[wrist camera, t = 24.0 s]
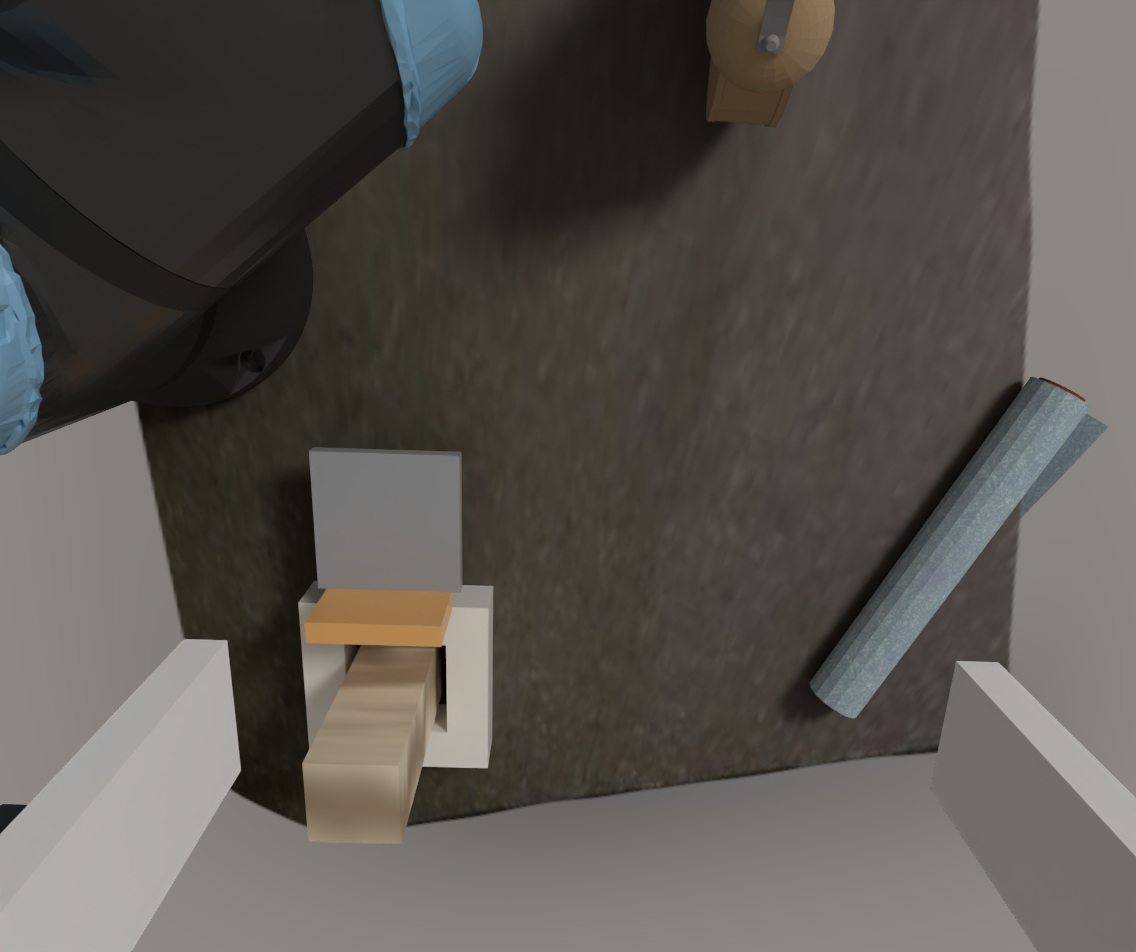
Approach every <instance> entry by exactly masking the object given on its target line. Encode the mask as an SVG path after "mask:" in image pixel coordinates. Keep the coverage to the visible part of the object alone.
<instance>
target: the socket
mask: <svg viewBox="0 0 1136 952" xmlns="http://www.w3.org/2000/svg"><path fill="white" fill-rule="evenodd" d="M325 591H326V589H324V588H318V581H314V582H313V583H312V584H311V586H310V587H309V589H308V590H307V591H306V593H305V594H304V596H303V597H302V598H301V600H300V601H299V602H298V606H299V619H300V632H301V646H302V659H303V672H304V686H305V699H306V712H307V726H308V739H309V749H310V747H311V745H312V743H313V741H314V739H315V737H316V735H317V733H318V731H319V729H320V727H321V725H322V723H323V721H324V719H325V717H326V715H327V713H328V711H329V709H330V707H331V705H332V703H333V701H334V699H335V697H336V695H337V693H338V691H339V689H340V687H341V685H342V683H343V681H344V679H345V677H346V675H347V673H348V671H349V669H350V667H351V664H352V662H353V660H354V658H355V656H356V654H357V652H358V645H353V644H317V643H306V638H305V625H304V622H305V621H306V619H307V618H308V616H309V615H310V613H311V612H312V610H313V609H314V607H315V606H316V604H317V603H318V601H319V600H320V598H321V597H322V595H323V594H324V592H325ZM442 645H446V686H447V704H439V705H438V709H437V713H436V717H435V720H434V724H433V728H432V732H431V735H430V739H429V743H428V746H427V750H426V754H425V758H424V761H423V765H422V767H460V768H488V764H489V757H490V750H491V743H492V685H493V586H476V585H462V589H461V593H460V592H452V613H451V616H450V619H449V623H448V626H447V629H446V633H445V636H444V639H443V643H442Z"/></svg>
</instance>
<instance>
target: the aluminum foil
mask: <svg viewBox="0 0 1136 952" xmlns="http://www.w3.org/2000/svg"><path fill="white" fill-rule="evenodd" d="M1089 409H1090V406H1089V405H1088V404H1087V403H1085V399H1084V398H1082V397H1081V396H1079V395H1078V394H1076V393H1074V392H1073V391H1071V390H1069V389H1067V388H1065V387H1063V386H1061V385H1059V384H1057V383H1055V382H1052V381H1050V380H1047V379H1044V378H1039V379H1037V378H1034V377H1030V379H1029V380H1028V382H1027V383H1026V384H1025V386H1024V387H1023V389H1022V390H1021V391H1020V393H1019V394H1018V395H1017V397H1016V398H1015V400H1014V401H1013V402H1012V404H1011V405H1010V406H1009V408H1008V409H1007V411H1006V412H1005V413H1004V415H1003V416H1002V418H1001V419H1000V420H999V422H998V423H997V424H996V426H995V427H994V429H993V430H992V431H991V433H990V434H989V435H988V437H987V438H986V440H985V441H984V442H983V444H982V445H981V446H980V448H979V449H978V451H977V452H976V453H975V455H974V456H973V458H972V459H971V460H970V462H969V463H968V464H967V466H966V467H965V469H964V470H963V471H962V473H961V474H960V475H959V477H958V478H957V480H956V481H955V482H954V484H953V485H952V486H951V488H950V489H949V491H948V492H947V493H946V495H945V496H944V498H943V499H942V500H941V502H940V503H939V504H938V506H937V507H936V509H935V510H934V511H933V513H932V514H931V515H930V517H929V518H928V520H927V521H926V522H925V524H924V525H923V526H922V528H921V529H920V531H919V532H918V533H917V535H916V536H915V538H914V539H913V540H912V542H911V543H910V544H909V546H908V547H907V549H906V550H905V551H904V553H903V554H902V555H901V557H900V558H899V560H898V561H897V562H896V564H895V565H894V567H893V568H892V569H891V571H890V572H889V573H888V575H887V576H886V578H885V579H884V580H883V582H882V583H881V584H880V586H879V587H878V589H877V590H876V591H875V593H874V594H873V595H872V597H871V598H870V600H869V601H868V602H867V604H866V605H865V607H864V608H863V609H862V611H861V612H860V613H859V615H858V616H857V618H856V619H855V620H854V622H853V623H852V624H851V626H850V627H849V629H848V630H847V631H846V633H845V634H844V635H843V637H842V638H841V640H840V641H839V642H838V644H837V645H836V647H835V648H834V649H833V651H832V652H831V653H830V655H829V656H828V658H827V659H826V660H825V662H824V663H823V664H822V666H821V667H820V669H819V670H818V671H817V673H816V674H815V675H814V677H813V678H812V680H811V681H810V682H809V684H810V687H811V689H812V690H813V692H814V693H815V695H816V696H817V697H818V698H819V699H820V700H821V701H822V702H823V703H824V704H825V705H826V706H828V707H829V708H830V709H832V710H833V711H835V712H837V713H839V714H841V715H844V716H847V717H849V718H856V717H857V716H858V714H859V713H860V712H861V710H862V709H863V708H864V706H865V705H866V704H867V702H868V701H869V700H870V698H871V697H872V696H873V694H874V693H875V692H876V690H877V689H878V688H879V686H880V685H881V684H882V682H883V681H884V680H885V679H886V677H887V676H888V675H889V673H890V672H891V671H892V669H893V668H894V667H895V665H896V664H897V663H898V661H899V660H900V659H901V657H902V656H903V655H904V653H905V652H906V651H907V649H908V648H909V647H910V645H911V644H912V643H913V641H914V640H915V639H916V638H917V636H918V635H919V634H920V632H921V631H922V630H923V628H924V627H925V626H926V624H927V623H928V622H929V620H930V619H931V618H932V616H933V615H934V614H935V612H936V611H937V610H938V608H939V607H940V606H941V604H942V603H943V602H944V600H945V599H946V598H947V597H948V595H949V594H950V593H951V591H952V590H953V589H954V587H955V586H956V585H957V583H958V582H959V581H960V579H961V578H962V577H963V575H964V574H965V573H966V571H967V570H968V569H969V567H970V566H971V565H972V563H973V562H974V561H975V560H976V558H977V557H978V556H979V554H980V553H981V552H982V550H983V549H984V548H985V546H986V545H987V544H988V542H989V541H990V540H991V538H992V537H993V536H994V534H995V533H996V532H997V530H998V529H999V528H1000V526H1001V525H1002V524H1003V522H1004V521H1005V520H1006V519H1007V517H1008V516H1009V515H1010V513H1011V512H1012V511H1013V509H1014V508H1015V507H1016V505H1017V504H1018V503H1019V501H1020V500H1021V502H1020V519H1021V518H1022V517H1023V516H1024V515H1025V514H1026V513H1027V512H1028V511H1029V509H1030V508H1031V507H1032V506H1033V505H1034V504H1035V503H1036V502H1037V501H1038V500H1039V499H1040V498H1041V497H1042V496H1043V495H1044V494H1045V493H1046V492H1047V491H1048V490H1049V489H1050V488H1051V487H1052V486H1053V485H1054V484H1055V483H1056V482H1057V481H1058V480H1059V479H1060V478H1061V477H1062V476H1063V475H1064V474H1065V473H1066V471H1068V469H1069V468H1070V467H1071V466H1072V465H1073V464H1074V463H1075V462H1076V461H1077V460H1078V459H1079V458H1080V457H1081V455H1083V454H1084V452H1085V451H1086V450H1087V449H1088V448H1089V447H1090V446H1091V445H1092V444H1093V443H1094V442H1095V441H1096V440H1097V439H1098V438H1099V436H1101V434H1102V433H1103V432H1104V431H1105V430H1106V429H1107V428H1108V426H1107V425H1105V424H1103V423H1102V422H1100V421H1098V420H1097V419H1095V418H1093V417H1092V416H1090V415H1088V414H1087V411H1088V410H1089Z"/></svg>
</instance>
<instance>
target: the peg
mask: <svg viewBox="0 0 1136 952" xmlns="http://www.w3.org/2000/svg"><path fill="white" fill-rule="evenodd" d="M441 694H442V688H441V647H423V646H388V645H361V646H360V648H359V650H358V652H357V654H356V656H355V658H354V660H353V662H352V664H351V667H350V669H349V671H348V673H347V675H346V677H345V679H344V681H343V683H342V685H341V687H340V689H339V691H338V693H337V695H336V697H335V699H334V701H333V703H332V705H331V707H330V709H329V711H328V713H327V715H326V717H325V719H324V721H323V723H322V725H321V727H320V729H319V731H318V733H317V735H316V737H315V739H314V741H313V743H312V745H311V747H310V749H309V751H308V753H307V755H306V757H305V759H304V761H303V763H302V766H303V778H304V791H305V804H306V817H307V829H308V841H309V842H339V843H340V842H342V843H383V844H401V843H402V839H403V836H404V832H405V828H406V825H407V821H408V817H409V813H410V810H411V806H412V802H413V799H414V795H415V791H416V787H417V784H418V780H419V776H420V772H421V769H422V765H423V761H424V758H425V754H426V750H427V746H428V743H429V739H430V735H431V732H432V728H433V724H434V720H435V717H436V713H437V709H438V705H439V702H440V698H441Z"/></svg>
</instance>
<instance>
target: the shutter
mask: <svg viewBox="0 0 1136 952" xmlns="http://www.w3.org/2000/svg"><path fill="white" fill-rule="evenodd" d="M309 458H310V473H311V488H312V503H313V518H314V534H315V549H316V564H317V579H318V588H324V589H326V591H325V592H324V594H323V595H322V597H321V598H320V600H319V601H318V603H317V604H316V606H315V607H314V609H313V610H312V612H311V613H310V615H309V616H308V618H307V619H306V621H305V622H304V625H305V638H306V643H317V644H353V645H388V646H423V647H441V646H442V643H443V639H444V636H445V633H446V629H447V626H448V623H449V619H450V616H451V613H452V592H460V593H461V589H462V461H461V452H446V451H415V450H384V449H352V448H321V447H313V448H312V449H311V450H310V451H309Z"/></svg>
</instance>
